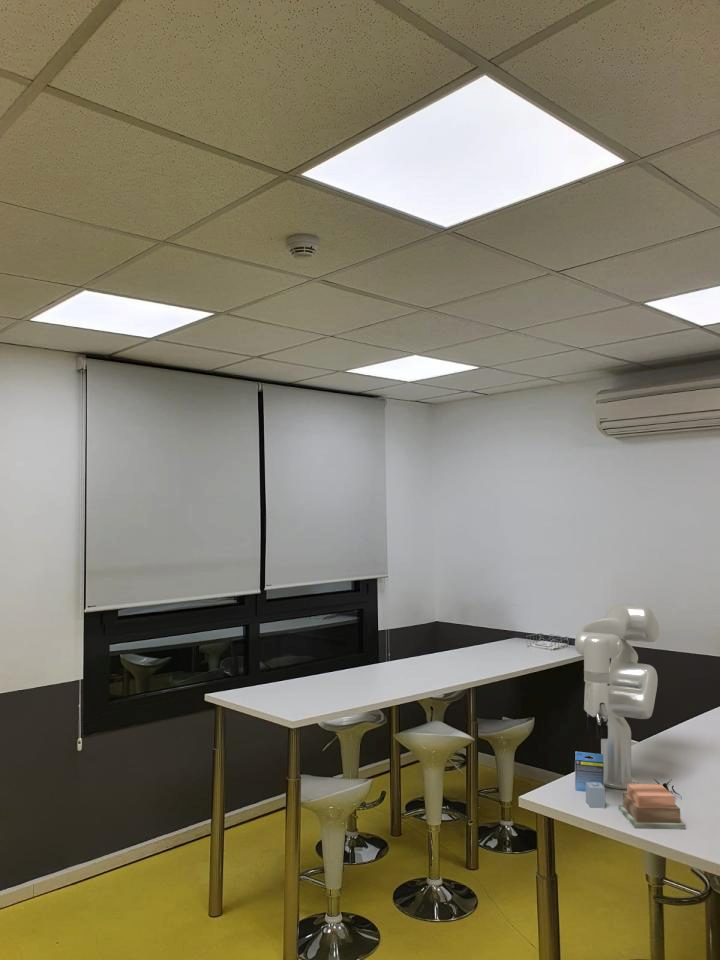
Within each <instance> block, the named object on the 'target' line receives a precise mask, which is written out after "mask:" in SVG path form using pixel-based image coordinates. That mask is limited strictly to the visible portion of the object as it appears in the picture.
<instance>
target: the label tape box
mask: <svg viewBox="0 0 720 960" xmlns="http://www.w3.org/2000/svg"><path fill="white" fill-rule="evenodd" d="M587 757H591V758H587ZM586 782H587V783H592V782H597V783H601V784H602V785H603V786H604V762H603V754H601V753H593V752H583V751H575V760H574V787H575V788H574V789H575V791H577V792H586ZM604 787H605V786H604Z"/></svg>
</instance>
